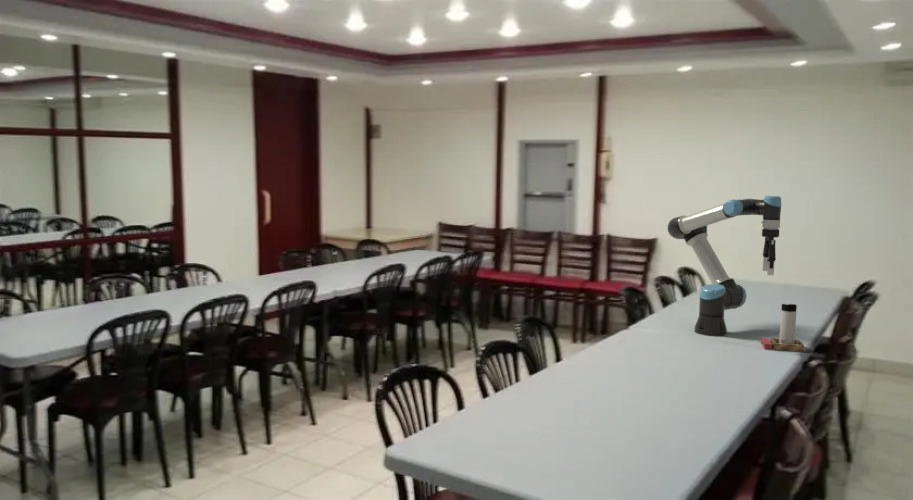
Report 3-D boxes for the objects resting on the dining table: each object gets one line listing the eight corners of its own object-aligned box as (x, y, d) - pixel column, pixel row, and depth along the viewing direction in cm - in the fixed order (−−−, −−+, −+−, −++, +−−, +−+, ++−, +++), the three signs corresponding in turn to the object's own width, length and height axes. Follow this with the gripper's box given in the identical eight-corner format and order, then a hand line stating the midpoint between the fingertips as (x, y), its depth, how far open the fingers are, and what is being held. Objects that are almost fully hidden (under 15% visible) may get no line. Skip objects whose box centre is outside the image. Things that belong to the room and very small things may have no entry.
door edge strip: (764, 349, 322) (765, 343, 322) (760, 342, 334) (761, 337, 333) (772, 349, 321) (772, 344, 321) (767, 343, 333) (767, 338, 333)
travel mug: (782, 347, 322) (784, 304, 319) (777, 344, 328) (779, 301, 326) (796, 348, 321) (799, 304, 319) (791, 344, 328) (794, 301, 325)
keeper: (773, 350, 320) (774, 343, 320) (768, 343, 333) (769, 337, 332) (805, 352, 317) (805, 346, 317) (798, 345, 330) (799, 339, 329)
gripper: (758, 226, 350) (755, 268, 352) (766, 230, 326) (763, 276, 328) (774, 226, 348) (771, 269, 350) (784, 231, 324) (781, 277, 327)
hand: (767, 273), depth 339 cm, fingers open, 13 cm apart
